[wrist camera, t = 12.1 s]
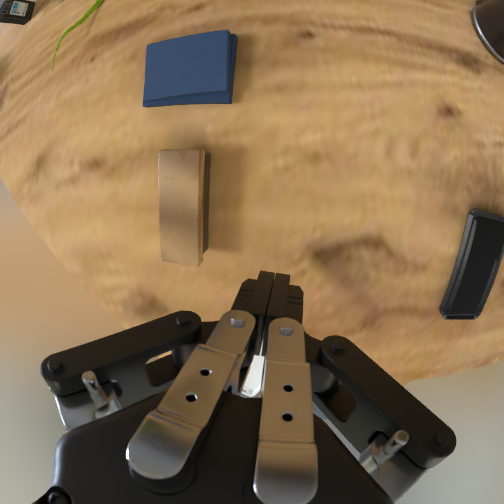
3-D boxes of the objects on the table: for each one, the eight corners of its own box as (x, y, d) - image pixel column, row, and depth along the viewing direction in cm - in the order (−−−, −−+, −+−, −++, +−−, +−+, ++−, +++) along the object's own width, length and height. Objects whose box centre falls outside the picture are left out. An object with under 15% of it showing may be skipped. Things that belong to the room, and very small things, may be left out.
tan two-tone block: (175, 148, 28) (158, 150, 24) (212, 148, 27) (199, 150, 24) (176, 247, 33) (161, 261, 29) (209, 252, 32) (198, 267, 29)
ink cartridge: (30, 20, 20) (1, 16, 13) (24, 25, 21) (-5, 22, 14) (35, 1, 18) (8, -4, 11) (29, 7, 19) (2, 2, 12)
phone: (439, 319, 29) (474, 210, 23) (437, 314, 30) (469, 207, 24) (478, 319, 28) (512, 220, 22) (475, 315, 29) (508, 218, 23)
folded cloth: (154, 45, 23) (144, 40, 21) (237, 36, 22) (232, 29, 20) (147, 107, 26) (137, 106, 24) (232, 103, 25) (226, 101, 23)
